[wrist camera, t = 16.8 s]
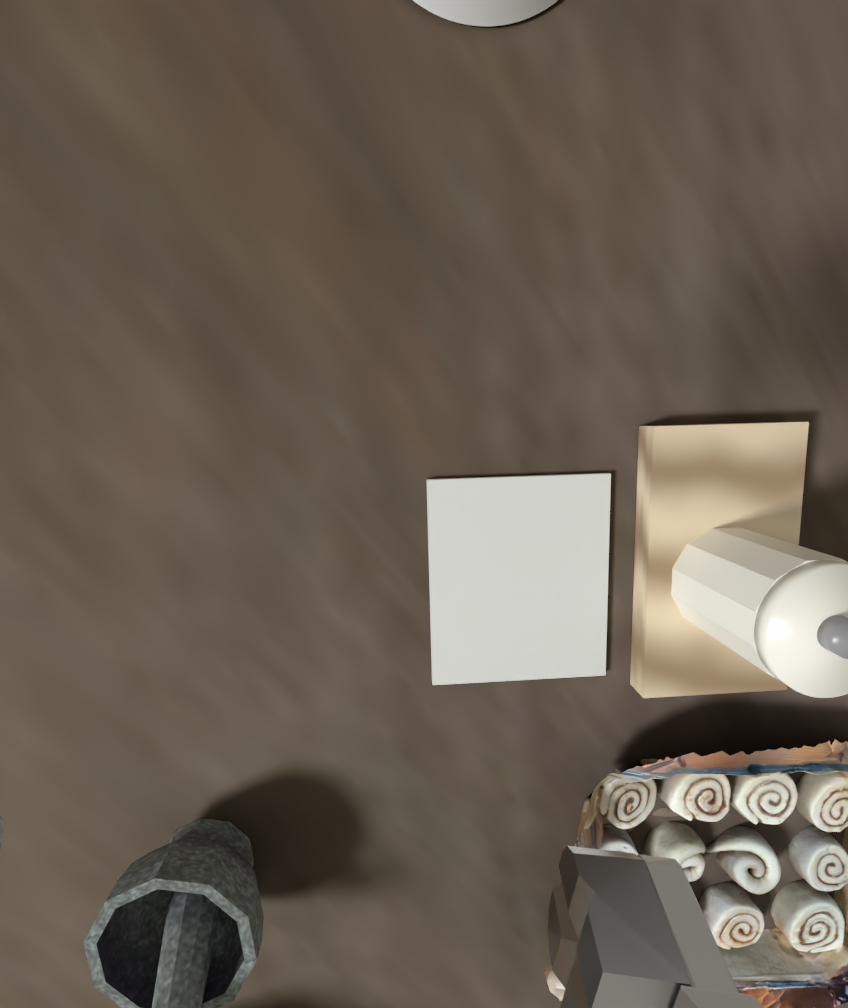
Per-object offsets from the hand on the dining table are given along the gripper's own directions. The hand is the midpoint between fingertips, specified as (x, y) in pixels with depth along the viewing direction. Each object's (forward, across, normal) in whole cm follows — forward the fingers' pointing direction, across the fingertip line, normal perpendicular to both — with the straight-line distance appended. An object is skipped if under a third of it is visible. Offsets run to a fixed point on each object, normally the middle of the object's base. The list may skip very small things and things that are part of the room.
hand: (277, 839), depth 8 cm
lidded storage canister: (+27, -21, +6) cm, 35 cm away
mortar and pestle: (+23, +10, +30) cm, 39 cm away
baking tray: (+27, -27, +27) cm, 47 cm away
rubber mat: (+28, -8, +8) cm, 30 cm away
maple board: (+29, -21, +5) cm, 36 cm away
